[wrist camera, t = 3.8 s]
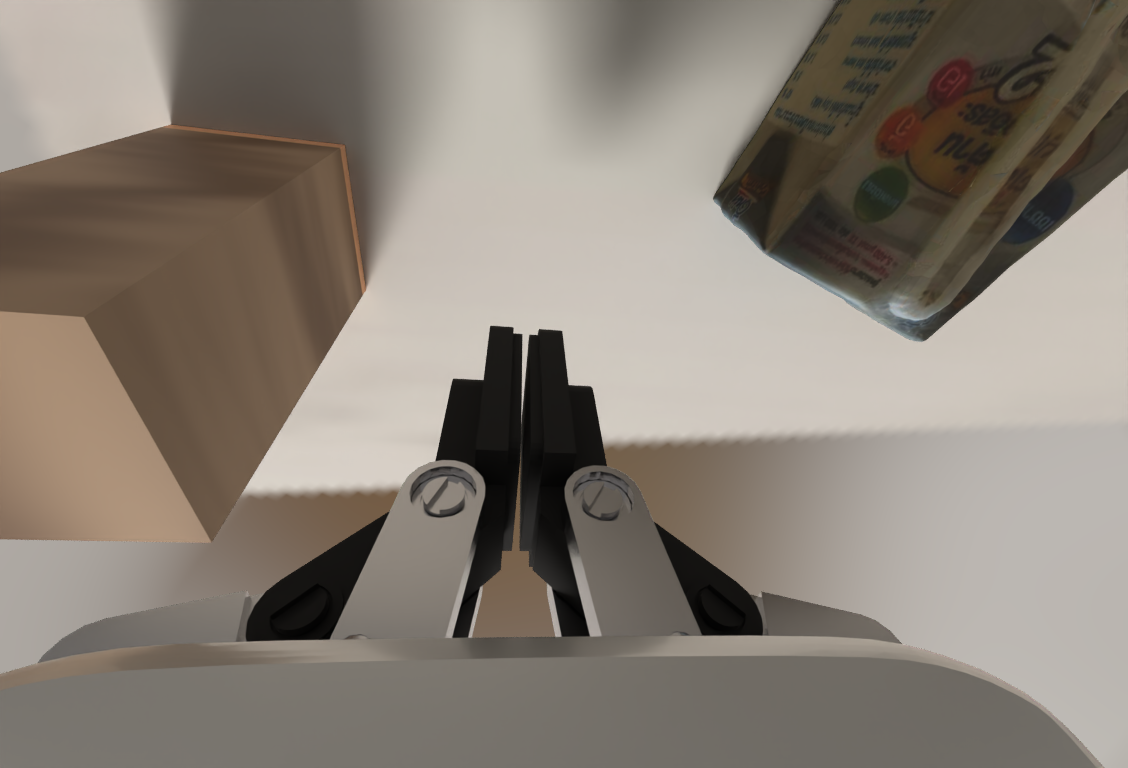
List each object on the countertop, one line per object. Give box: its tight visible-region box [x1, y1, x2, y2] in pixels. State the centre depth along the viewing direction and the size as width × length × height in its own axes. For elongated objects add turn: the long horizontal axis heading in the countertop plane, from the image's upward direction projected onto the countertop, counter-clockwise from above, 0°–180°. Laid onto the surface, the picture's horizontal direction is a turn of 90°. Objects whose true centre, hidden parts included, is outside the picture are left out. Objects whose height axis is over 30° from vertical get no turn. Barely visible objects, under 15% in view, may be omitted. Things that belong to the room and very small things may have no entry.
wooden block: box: [0, 125, 366, 543], centre depth 13 cm, size 6×6×12 cm
